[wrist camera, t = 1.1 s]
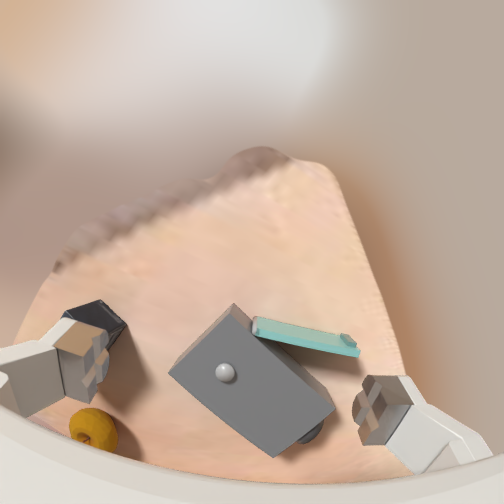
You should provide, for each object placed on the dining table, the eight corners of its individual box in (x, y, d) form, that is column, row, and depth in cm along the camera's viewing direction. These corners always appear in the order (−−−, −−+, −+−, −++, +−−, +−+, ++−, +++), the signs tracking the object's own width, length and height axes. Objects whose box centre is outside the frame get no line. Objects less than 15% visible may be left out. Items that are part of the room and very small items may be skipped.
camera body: (336, 396, 46) (348, 420, 38) (282, 441, 46) (285, 469, 38) (233, 302, 46) (228, 314, 38) (179, 356, 46) (166, 375, 38)
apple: (136, 434, 47) (118, 462, 38) (101, 442, 47) (81, 467, 38) (110, 393, 47) (87, 416, 38) (76, 403, 47) (52, 424, 38)
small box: (99, 296, 46) (63, 307, 36) (128, 323, 46) (97, 341, 36) (71, 340, 47) (36, 358, 36) (97, 366, 47) (66, 390, 36)
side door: (348, 333, 45) (362, 346, 38) (345, 343, 45) (358, 357, 38) (255, 311, 45) (254, 322, 39) (252, 322, 45) (251, 334, 39)
